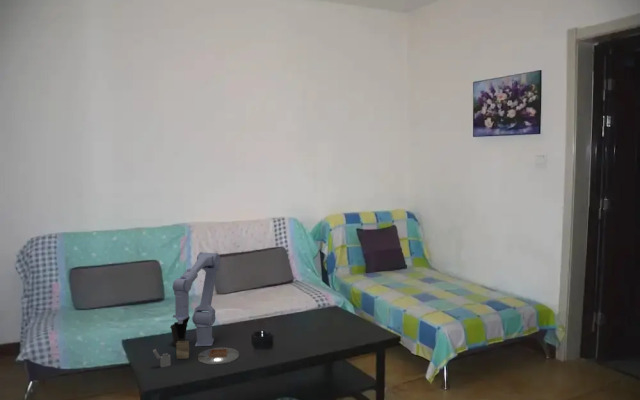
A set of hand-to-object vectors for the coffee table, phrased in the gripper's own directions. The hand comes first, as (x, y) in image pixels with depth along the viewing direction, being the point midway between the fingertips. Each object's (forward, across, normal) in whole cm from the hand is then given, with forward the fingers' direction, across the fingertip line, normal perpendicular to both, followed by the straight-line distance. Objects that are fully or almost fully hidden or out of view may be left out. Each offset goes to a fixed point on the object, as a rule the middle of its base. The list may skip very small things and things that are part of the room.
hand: (182, 335), depth 229 cm
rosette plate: (+10, +1, +16) cm, 19 cm away
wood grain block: (+10, -1, 0) cm, 10 cm away
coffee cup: (+10, -19, -3) cm, 21 cm away
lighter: (+11, +8, -8) cm, 16 cm away
